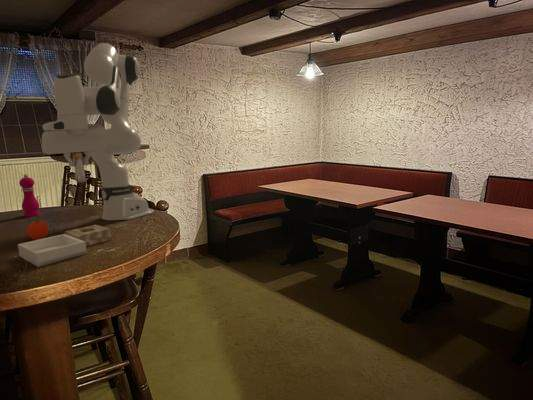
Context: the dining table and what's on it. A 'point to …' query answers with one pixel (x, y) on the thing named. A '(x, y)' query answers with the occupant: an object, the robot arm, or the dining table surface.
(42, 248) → the tray
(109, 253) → the dining table surface
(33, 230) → the clementine
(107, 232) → the block
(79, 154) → the pin
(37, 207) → the pepper mill
